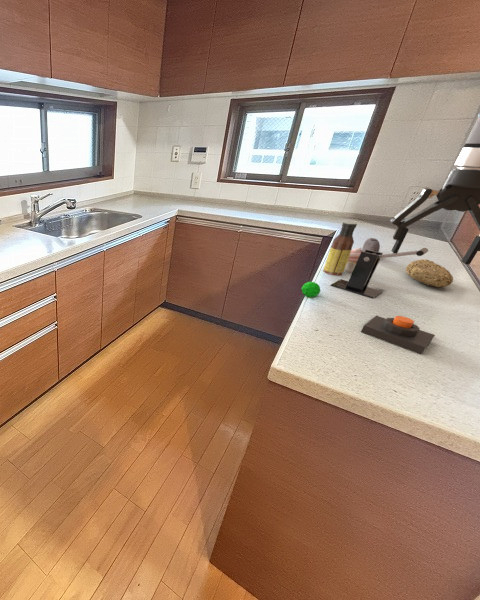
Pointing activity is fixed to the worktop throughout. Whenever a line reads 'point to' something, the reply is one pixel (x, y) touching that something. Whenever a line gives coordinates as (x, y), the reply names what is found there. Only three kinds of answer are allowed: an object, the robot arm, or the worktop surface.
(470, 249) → the robot arm
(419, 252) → the lever
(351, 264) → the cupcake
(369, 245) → the perforated stone tool
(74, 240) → the worktop surface
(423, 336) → the button block
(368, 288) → the bracket
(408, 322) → the button
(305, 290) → the green bumpy ball
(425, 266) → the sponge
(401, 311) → the worktop surface
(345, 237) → the sauce bottle
